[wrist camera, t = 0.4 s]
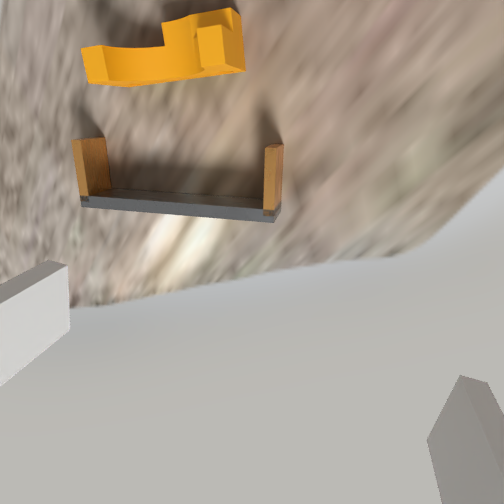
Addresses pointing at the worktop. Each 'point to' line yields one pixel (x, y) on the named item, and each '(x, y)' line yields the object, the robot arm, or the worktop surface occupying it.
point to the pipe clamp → (173, 53)
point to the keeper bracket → (237, 208)
